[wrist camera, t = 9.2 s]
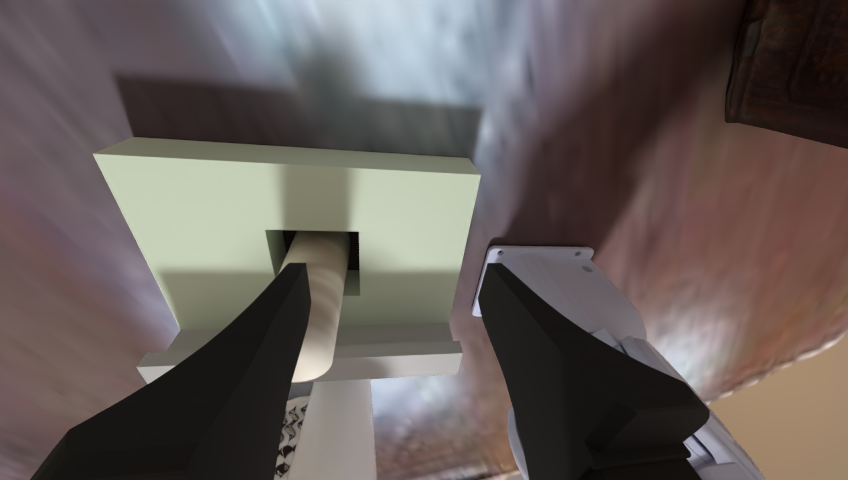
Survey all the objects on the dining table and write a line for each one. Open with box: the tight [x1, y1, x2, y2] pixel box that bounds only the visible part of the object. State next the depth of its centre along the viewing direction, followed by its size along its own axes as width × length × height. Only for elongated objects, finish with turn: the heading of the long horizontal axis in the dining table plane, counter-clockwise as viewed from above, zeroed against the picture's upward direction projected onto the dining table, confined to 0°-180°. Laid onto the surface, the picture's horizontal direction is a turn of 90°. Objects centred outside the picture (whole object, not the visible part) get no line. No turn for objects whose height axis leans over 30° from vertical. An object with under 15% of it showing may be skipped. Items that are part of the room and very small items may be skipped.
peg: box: [279, 230, 351, 382], centre depth 19 cm, size 4×4×10 cm
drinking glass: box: [287, 379, 377, 480], centre depth 25 cm, size 7×7×15 cm
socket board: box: [93, 137, 481, 384], centre depth 20 cm, size 20×14×7 cm
